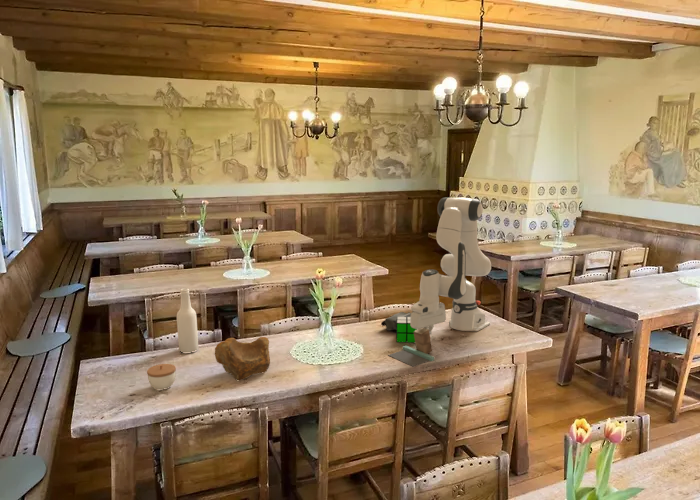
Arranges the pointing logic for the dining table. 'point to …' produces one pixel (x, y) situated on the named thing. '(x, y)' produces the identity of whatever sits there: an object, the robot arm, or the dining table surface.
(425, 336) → the walnut block
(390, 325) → the grey rounded lump
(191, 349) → the alcohol
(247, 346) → the rough brown rock
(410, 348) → the rail
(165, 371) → the lidded jar
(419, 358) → the mat
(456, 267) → the robot arm
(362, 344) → the dining table surface
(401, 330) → the puzzle cube
